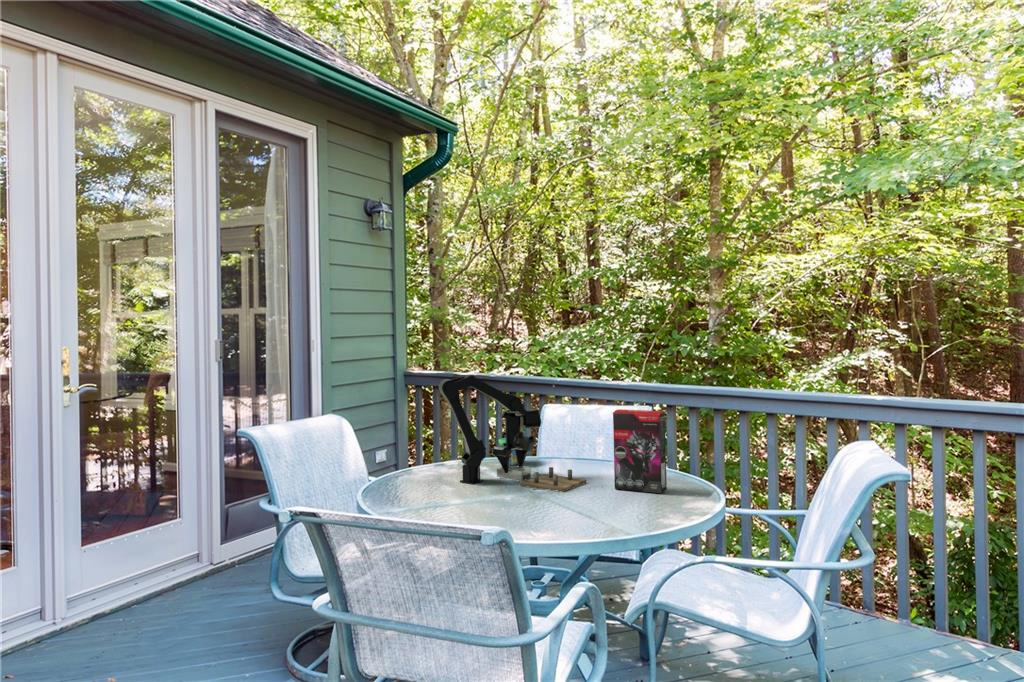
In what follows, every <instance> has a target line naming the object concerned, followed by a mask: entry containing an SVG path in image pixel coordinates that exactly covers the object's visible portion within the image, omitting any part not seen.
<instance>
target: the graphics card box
mask: <svg viewBox="0 0 1024 682" xmlns="http://www.w3.org/2000/svg"><path fill="white" fill-rule="evenodd" d="M612 424H613V426H612V427H613V429H612V430H613V431H612V432H613V462H614V463H613V466H614V467H613V469H614V472H613V474H614V490H619V489H620V490H621V491H622V490H623V491H633V492H634V491H635V492H645V493H653V494H655V493H656V494H657V493H658V494H662V493H663V492H665V491H667V488H668V487H667V485H668V483H667V455H666V454H667V453H666V451H667V450H666V412H665V410H645V409H644V410H642V409H616V410H614V411H613V412H612Z"/></svg>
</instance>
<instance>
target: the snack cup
mask: <svg viewBox="0 0 1024 682" xmlns="http://www.w3.org/2000/svg"><path fill="white" fill-rule="evenodd" d="M498 443H499V446H503V443H506V437H502V438H500V439H498ZM510 455H512V456H511V457H510V459H509V466H511V465H510V464H518V461H517V457H516V452H515V450H513V451H512V452H511V454H510Z"/></svg>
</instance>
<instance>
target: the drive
mask: <svg viewBox="0 0 1024 682" xmlns="http://www.w3.org/2000/svg"><path fill="white" fill-rule="evenodd" d="M497 477H499V478H505V479H504V480H507V479H512V480H511V481H514V480H519V481H518V482H522V481H523V480H524V481H525V479H527V480H528V478H530V479H531V478H532V468H531V467H525V466H523V467H519V466H518V465H509V468H508V473H505V472H504V470H503V468H502V466H501V467H497V468H496V478H497ZM499 478H498V479H499Z"/></svg>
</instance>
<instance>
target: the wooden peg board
mask: <svg viewBox="0 0 1024 682" xmlns="http://www.w3.org/2000/svg"><path fill="white" fill-rule="evenodd" d="M533 474H534V476H533V477H531V478H530V479H527V480H524V481H519V486H520V485H522V486H521V487H526V486H529V487H528V488H532V487H536V488H535V489H539V488H543V489H542V490H546V489H550V490H549V491H553V490H558V491H557V492H560V491H564V492H567V491H569V490H568V489H570V490H571V488H572V489H574V488H573V487H575V488H577V487H579V486H578V485H580V486H582V485H584V484H583V483H585V484H587V483H586V482H588V480H587V479H586V478H579V477H573V469H571V468H569V469H567V476H563V475H562V476H561V475H558V474H554V467H553V466H550V467H548V474H547V473H543V474H541V475H540V473H539V471H534V473H533ZM581 484H582V485H581ZM576 486H577V487H576ZM566 490H567V491H566Z"/></svg>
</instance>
